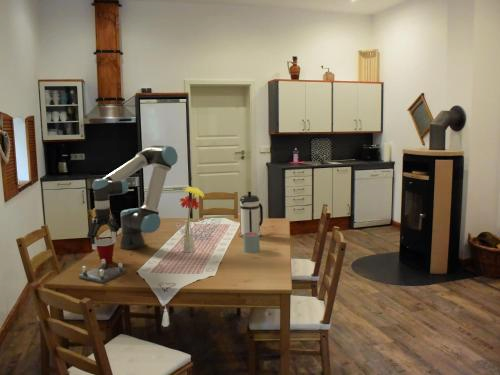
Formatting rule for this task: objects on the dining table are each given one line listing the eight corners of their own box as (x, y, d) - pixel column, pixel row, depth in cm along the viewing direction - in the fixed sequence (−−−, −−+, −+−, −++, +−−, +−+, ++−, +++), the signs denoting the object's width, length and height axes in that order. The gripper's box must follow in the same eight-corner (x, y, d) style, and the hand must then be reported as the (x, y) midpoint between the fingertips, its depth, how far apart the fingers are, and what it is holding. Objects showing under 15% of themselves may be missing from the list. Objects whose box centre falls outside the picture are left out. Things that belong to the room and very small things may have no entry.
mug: (258, 253, 242) (257, 236, 240) (242, 252, 244) (241, 235, 242) (262, 246, 255) (261, 230, 253) (247, 245, 257) (246, 229, 255)
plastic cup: (95, 266, 224) (93, 244, 222) (96, 260, 234) (95, 239, 233) (116, 264, 227) (115, 242, 225) (117, 258, 237) (115, 237, 236)
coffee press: (263, 239, 270) (262, 193, 266) (238, 239, 270) (237, 193, 266) (263, 232, 287) (262, 188, 283) (239, 232, 288) (238, 189, 283)
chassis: (104, 267, 222) (103, 257, 221) (126, 272, 214) (126, 262, 213) (79, 277, 208) (78, 267, 207) (102, 283, 200) (101, 272, 199)
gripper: (115, 203, 239) (117, 240, 242) (78, 211, 217) (80, 251, 220) (124, 204, 235) (126, 241, 238) (88, 212, 213) (90, 253, 216)
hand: (104, 246), depth 229 cm, fingers open, 13 cm apart
